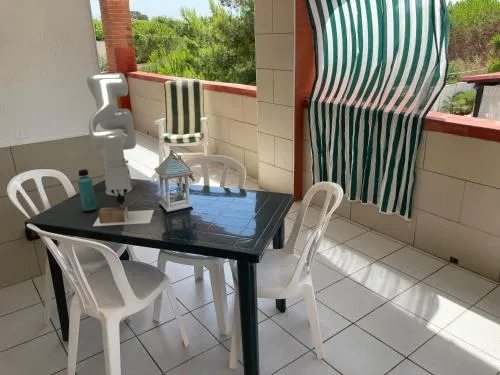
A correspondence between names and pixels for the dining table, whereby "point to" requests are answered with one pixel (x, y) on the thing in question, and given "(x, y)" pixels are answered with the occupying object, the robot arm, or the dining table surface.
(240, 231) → the dining table surface
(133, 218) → the white rectangular board
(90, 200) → the beverage bottle
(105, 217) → the walnut block
